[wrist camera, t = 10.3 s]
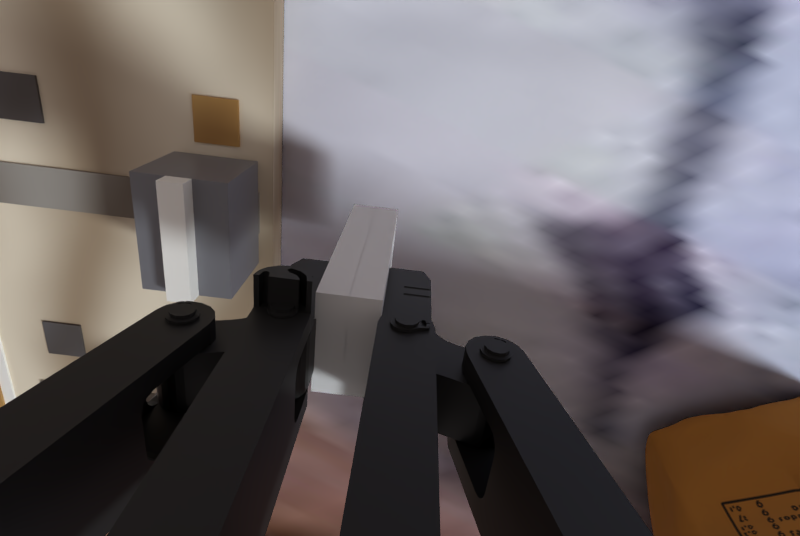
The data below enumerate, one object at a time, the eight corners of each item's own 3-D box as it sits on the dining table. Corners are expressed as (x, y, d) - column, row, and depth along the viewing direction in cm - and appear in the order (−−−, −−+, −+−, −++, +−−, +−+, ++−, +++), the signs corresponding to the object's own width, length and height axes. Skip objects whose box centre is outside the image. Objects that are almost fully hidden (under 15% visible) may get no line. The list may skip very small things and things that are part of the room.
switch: (182, 253, 20) (132, 297, 16) (174, 151, 18) (118, 175, 15) (258, 263, 20) (225, 307, 16) (258, 161, 18) (220, 188, 15)
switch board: (-13, 430, 26) (-36, 451, 25) (-241, -333, 14) (-307, -370, 13) (278, 465, 26) (270, 487, 25) (287, -268, 14) (273, -298, 13)
